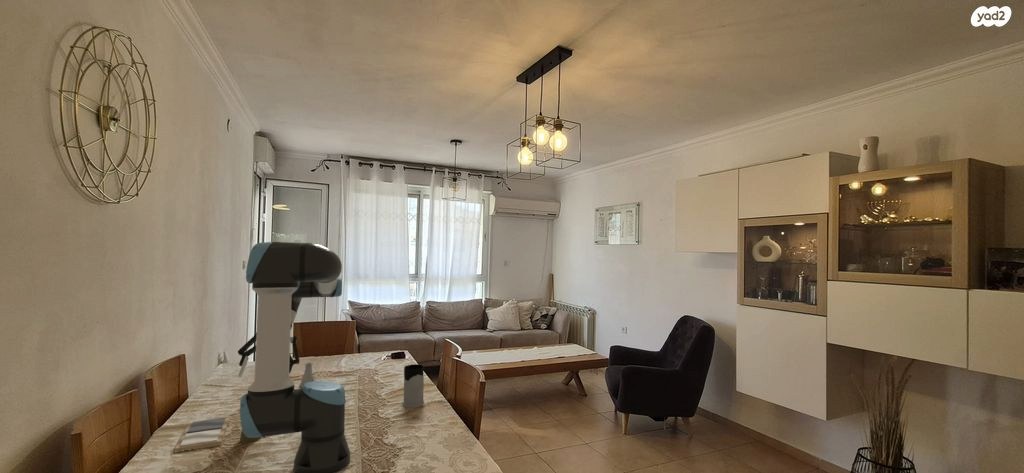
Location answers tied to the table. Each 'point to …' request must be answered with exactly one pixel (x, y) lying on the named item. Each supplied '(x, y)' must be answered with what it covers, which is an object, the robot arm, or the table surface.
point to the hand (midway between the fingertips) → (261, 379)
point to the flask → (307, 374)
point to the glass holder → (413, 386)
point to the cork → (247, 440)
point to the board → (203, 434)
